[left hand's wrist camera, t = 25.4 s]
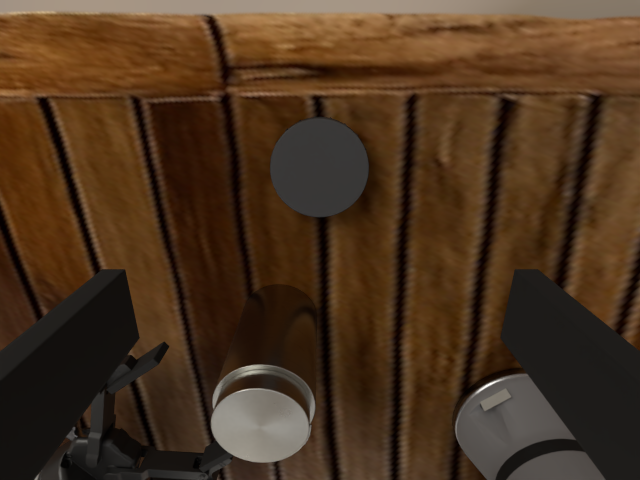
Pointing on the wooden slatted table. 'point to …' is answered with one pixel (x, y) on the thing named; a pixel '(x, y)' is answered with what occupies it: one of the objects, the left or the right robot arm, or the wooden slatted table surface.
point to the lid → (319, 167)
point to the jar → (268, 378)
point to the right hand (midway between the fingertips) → (207, 395)
